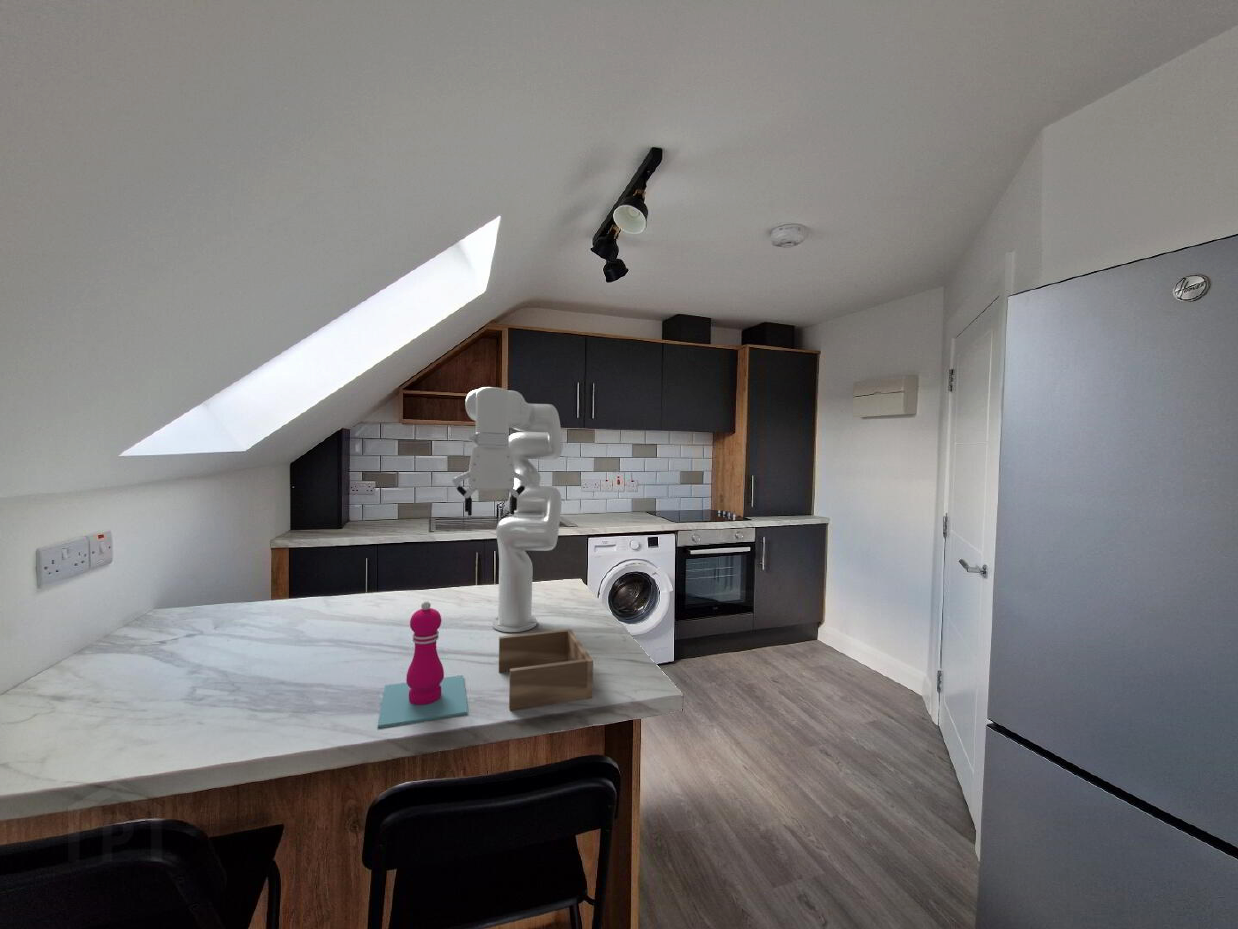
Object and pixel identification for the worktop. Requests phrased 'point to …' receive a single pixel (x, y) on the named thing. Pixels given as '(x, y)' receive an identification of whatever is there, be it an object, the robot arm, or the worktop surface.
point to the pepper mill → (425, 657)
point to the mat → (403, 711)
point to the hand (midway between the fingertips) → (490, 514)
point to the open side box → (545, 668)
